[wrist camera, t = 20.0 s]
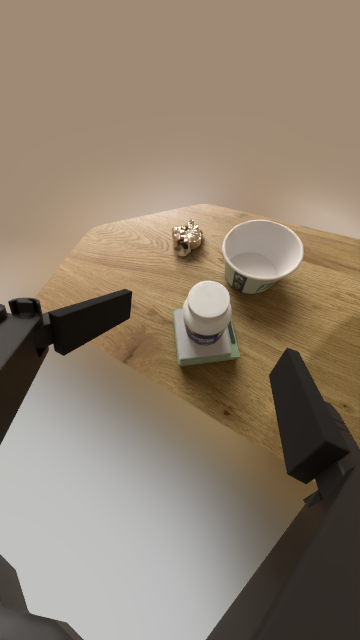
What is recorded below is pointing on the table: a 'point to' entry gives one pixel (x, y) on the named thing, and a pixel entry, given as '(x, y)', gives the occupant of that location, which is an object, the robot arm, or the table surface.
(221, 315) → the pill bottle
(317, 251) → the table surface
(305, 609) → the robot arm
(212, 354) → the scale
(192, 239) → the ornament
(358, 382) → the table surface
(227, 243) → the food container
